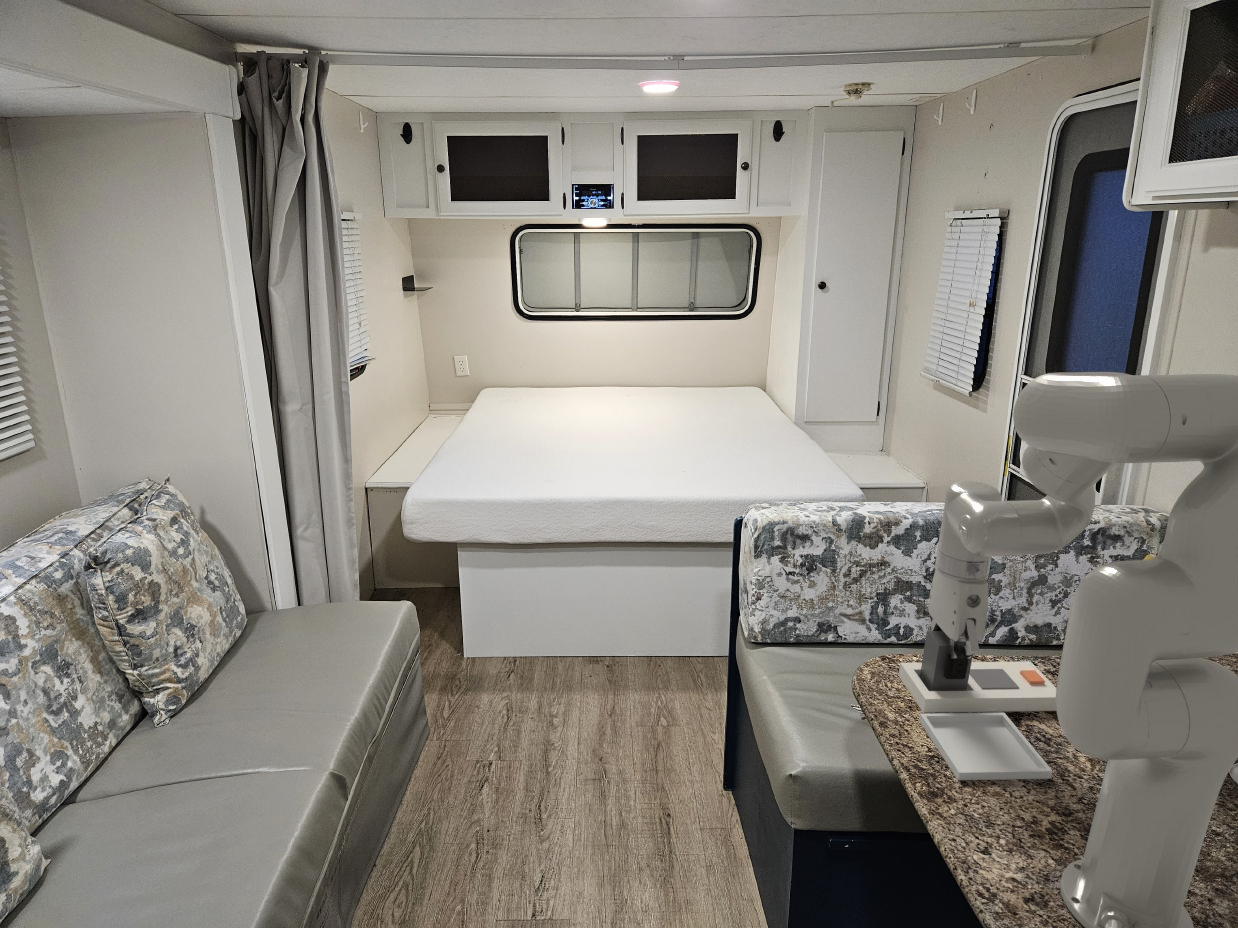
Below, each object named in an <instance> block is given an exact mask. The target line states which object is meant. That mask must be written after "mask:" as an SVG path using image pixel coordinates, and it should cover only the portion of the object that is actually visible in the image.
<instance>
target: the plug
mask: <svg viewBox="0 0 1238 928" xmlns="http://www.w3.org/2000/svg"><path fill="white" fill-rule="evenodd" d="M959 637H965V634H962V635H961V636H959ZM923 647H924V648H923V655H922V661H921V663H922V666H921V672H920V679H921V681H922V682H923V684H924V685H925V686H926V688H927V689H928V691H966V690H967V685H968V679H969V674H970V668H971V662H973V656H974V654H973V655H972V656H971V658H970V659H969V660H968V666H967V672H966V677H965V678H964V679H946V678H945V677H944V671H945V665H946V659H947V655H950V638H949V637H948V636H947V635H946V634H945V632H944V631H930V630H927V631H926V635H925V642H924V646H923ZM960 647H964V642H957V649H958V648H960Z"/></svg>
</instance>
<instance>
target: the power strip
mask: <svg viewBox="0 0 1238 928" xmlns="http://www.w3.org/2000/svg"><path fill="white" fill-rule="evenodd" d="M921 666H922V662H900V663H899V669H898V670H899V671H898V677H899V679H900V680H901V681H902V683H903V685H904V686H905V688H906V689H907V691H908V692H909V694H910V695H911V696H912V699H913V700H914V701H915V703H916V704H917V705H918V707H919V708H920V710H921V712H922V714H932V713H1005V712H1057V710H1056V687H1057V686H1055V685H1054V684H1053V683H1052V682H1051V681H1050V680H1049V679H1048V678H1047V677H1046V676H1045V675H1044V674H1043V673H1042V672H1041V670H1040V669H1038V667H1037V666H1036V665H1034V664H1033V662H1032V661H972V662H971V668H970V674H969V679H968V685H967V690H966V691H928V689H927V688H926V686H925V685H924V684H923V682H922V681H921V679H920V672H921Z"/></svg>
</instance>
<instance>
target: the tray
mask: <svg viewBox="0 0 1238 928" xmlns="http://www.w3.org/2000/svg"><path fill="white" fill-rule="evenodd" d="M918 722H919V723H920V724H921V726H922V728H924V729H923V730H925V732H926V734H927V735H928V737H929V738H930V740H931V741H932V743H933V745H934V746H935V747H936V750H938V753H939V754H940V755H941V756H942V758H943V760H944V762H945V763H946V765H947V766H948V768H949V769H950V771H951V772H952V773H953V775H954V777H955V778H956V780H957V781H989V780H990V781H992V780H993V781H996V780H997V781H998V780H1045V779H1046V780H1049V779H1050V780H1051V779H1052V777H1053V770H1052V769H1051V766H1049V765H1048V764H1047V762H1046V761H1045V760H1044V759H1043V757H1042V756H1041V755H1040V753H1039V752H1038V751H1037V750H1036V749H1035V748H1034V746H1033V745H1032V744H1031V743H1030V742H1029V741H1028V739H1027V738H1026V737H1025V736H1024V735H1023V733H1022V732H1021V731H1020V729H1018V727H1017V726H1016V725H1015V724H1014V722H1013V721H1012V720H1011V719H1010V717H1008V715H1007V714H1006V713H1005V712H934V713H920V714H919V719H918Z"/></svg>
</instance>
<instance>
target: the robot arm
mask: <svg viewBox="0 0 1238 928" xmlns="http://www.w3.org/2000/svg"><path fill="white" fill-rule="evenodd" d="M1012 416H1013V426H1014V429H1015V431H1016V433H1017V435H1018V437H1019V438H1020V439H1021V440H1022V441H1023V442H1024V443H1025V444H1027V445H1028V446H1027V447H1025V449H1024V452H1023V454H1022V458H1021V459H1022V460H1021V465H1022V470H1023V472H1024V474H1025V476H1026V477H1027V479H1028V480H1029V482H1030V483H1031V484H1032V485H1033V486H1034V487H1035V488H1036V489H1038V491H1040V492H1041V493H1043V494H1045V495H1046V496H1045V497H1042V498H1041V499H1037V500H1034V499H1033V500H1031V499H1030V500H1026V499H1025V500H1003V499H1002V495H1001V493H1000V490H999V489H997V488H995V486H992V485H989V484H987V483H983V482H980V481H975V480H974V481H971V480H964V481H963V480H962V481H957V482H954V483H952V484H951V485H950V486H949V487H948V488H947V490H946V494H945V500H944V507H943V512H942V519H941V524H940V525H941V526H940V530H939V531H940V532H939V538H938V539H939V540H938V545H937V551H936V559H935V562H934V563H935V565H934V570H935V571H934V574H933V578H932V582H931V587H930V592H929V597H928V608H927V610H928V613H929V618H930V625H929V631H944V632H945V634H946V635H947V636H948V637H949V638H950V655H947V659H946V665H945V671H944V677H945V678H946V679H964V678H965V677H966V672H967V666H968V660H969V659H970V658H971V656H972V655H973V656H974V655H976V654H978V653H979V652H980V646H979V642H982V641H983V640H984V638H985V633H986V627H987V626H986V625H987V617H988V608H989V582H988V578H989V574H990V568H991V562H992V557H1007V556H1020V555H1021V556H1025V555H1046V554H1051V553H1054V552H1056V551H1058V550H1061V549H1062V548H1063V549H1064V547H1066V546H1067V545H1068V544H1070V543H1072V541H1073V540H1074V539H1075V538H1077V537H1078V536H1079V535H1080V534H1082V532H1083V531H1085V529H1086V528H1087V527H1088V526H1089V525H1090V523H1091V521H1092V519H1093V516H1094V511H1095V505H1096V493H1095V487H1094V486H1095V484H1097V483H1098V482H1099V481H1100V480H1101V479H1102V478H1103V477H1104V476H1105V474H1107V473H1108V472H1109V471H1110V470H1111V469H1112V468H1113V467H1114V466H1115V465H1116V464H1143V463H1149V464H1151V463H1181V462H1182V463H1184V462H1186V463H1187V462H1200V463H1201V464H1202V466H1203V468H1202V470H1201V471H1200V472H1199V474H1198V475H1197V476H1195V478H1193V479H1192V480H1191V481H1190V483H1188V484H1187V486H1186V487H1184V489H1183V490H1182V492H1181V494H1179V496H1178V498H1177V499H1176V501H1175V502H1174V504H1173V506H1172V509H1171V510H1170V512H1169V515H1168V519H1167V526H1166V531H1165V535H1164V539H1163V542H1162V545H1161V548H1160V551H1159V552H1158V554H1157V555H1155V556H1156V557H1154V558H1152V559H1150V560H1143V559H1136V560H1135V559H1134V560H1133V559H1130V560H1119V561H1111V562H1107V563H1104V564H1102V565H1099V566H1097V567H1095V568H1093V569H1092V570H1091V571H1089V572H1088V573H1087V574H1086V575H1085V576H1084V577H1083V578H1082V580H1081V582H1080V583H1079V584H1078V586H1077V588H1076V590H1075V592H1074V594H1073V597H1072V601H1071V605H1070V609H1069V614H1068V621H1067V625H1066V629H1065V637H1064V642H1063V647H1062V651H1061V653H1062V654H1061V658H1060V663H1059V668H1058V675H1057V681H1056V686H1055V687H1056V710H1057V711H1056V715H1057V719H1058V720H1057V721H1058V723H1059V726H1060V728H1061V730H1062V733H1063V735H1064V736H1065V738H1066V739H1067V741H1068V742H1069V743H1070V745H1072V746H1073V748H1075V749H1076V750H1078V751H1079V752H1081V753H1083V754H1084V755H1085V756H1089V757H1090V758H1094V759H1097V760H1105V761H1107V764H1106V767H1105V770H1104V774H1103V775H1104V776H1103V778H1102V782H1101V787H1100V791H1099V795H1098V798H1097V803H1096V806H1095V811H1094V814H1093V819H1092V821H1091V826H1090V830H1089V833H1088V834H1089V835H1088V838H1087V842H1086V846H1085V849H1084V854H1083V858H1081V859H1076V860H1075V861H1072V862H1071V863H1069V864H1068V865H1067V866H1066V867H1065V868H1064V870H1063V871H1062V874H1061V879H1060V883H1059V884H1060V885H1059V888H1060V893H1061V897H1062V899H1063V902H1064V904H1065V906H1066V907H1067V909H1068V911H1070V913H1071V914H1072V915H1073V917H1074V918H1075V919H1076V920H1077V921H1078V922H1079V923H1080V925H1082V926H1083V927H1084V928H1195V927H1194V923H1193V920H1192V917H1191V915H1190V914H1189V912H1188V910H1187V909H1186V907H1185V906H1184V904H1185V901H1186V898H1187V895H1188V892H1189V888H1190V885H1191V881H1192V878H1193V876H1194V873H1195V870H1196V865H1197V864H1198V859H1199V856H1200V853H1201V849H1202V846H1203V843H1204V840H1205V838H1206V833H1207V830H1208V828H1209V824H1210V822H1211V818H1212V815H1213V812H1214V809H1215V805H1216V803H1217V800H1218V796H1219V794H1220V791H1221V788H1222V787H1223V783H1224V782H1225V780H1226V778H1227V776H1228V773H1229V772H1230V771H1231V768H1232V767H1233V766H1234V764H1235V762H1236V761H1237V759H1238V675H1237V674H1235V673H1234V672H1233V671H1232V670H1230V669H1229V668H1227V667H1226V666H1224V665H1222V664H1221V663H1219V662H1216V661H1213V660H1211V659H1206V658H1215V657H1222V656H1227V655H1232V654H1235V653H1238V375H1235V374H1233V375H1232V374H1221V373H1187V374H1150V375H1149V374H1143V375H1142V374H1140V375H1137V374H1136V375H1132V374H1129V373H1123V372H1115V371H1083V372H1073V371H1072V372H1066V371H1065V372H1063V371H1062V372H1048V373H1045V374H1041V375H1039V376H1037V377H1035V378H1034V379H1032V380H1031V381H1030V382H1028V383H1027V384H1026V385H1025V386H1024V388H1022V390H1021V392H1020V393H1019V395H1018V396H1017V399H1016V401H1015V404H1014V407H1013V415H1012ZM962 634H965V637H959V636H961V635H962ZM957 642H964V647H960V648H958V649H957Z"/></svg>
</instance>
